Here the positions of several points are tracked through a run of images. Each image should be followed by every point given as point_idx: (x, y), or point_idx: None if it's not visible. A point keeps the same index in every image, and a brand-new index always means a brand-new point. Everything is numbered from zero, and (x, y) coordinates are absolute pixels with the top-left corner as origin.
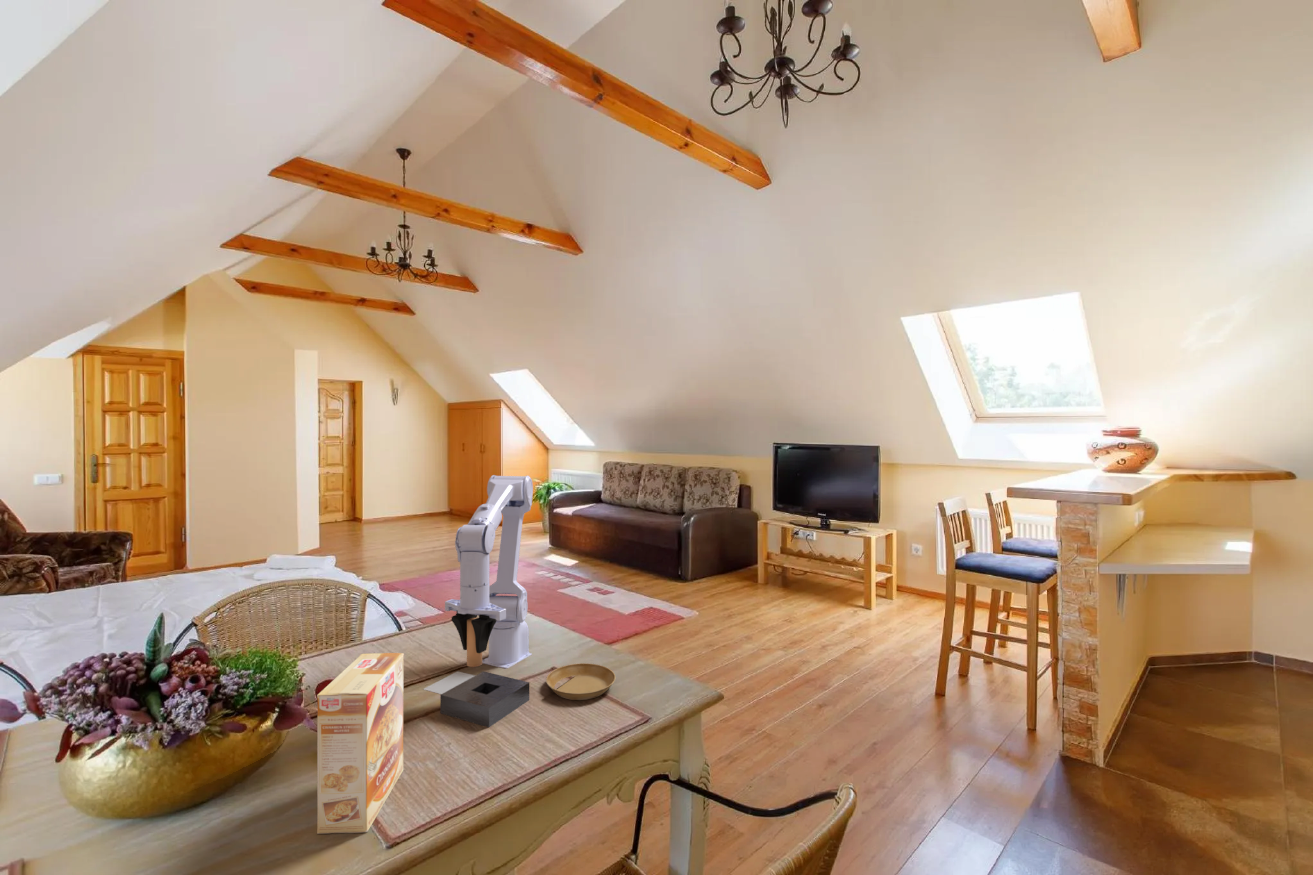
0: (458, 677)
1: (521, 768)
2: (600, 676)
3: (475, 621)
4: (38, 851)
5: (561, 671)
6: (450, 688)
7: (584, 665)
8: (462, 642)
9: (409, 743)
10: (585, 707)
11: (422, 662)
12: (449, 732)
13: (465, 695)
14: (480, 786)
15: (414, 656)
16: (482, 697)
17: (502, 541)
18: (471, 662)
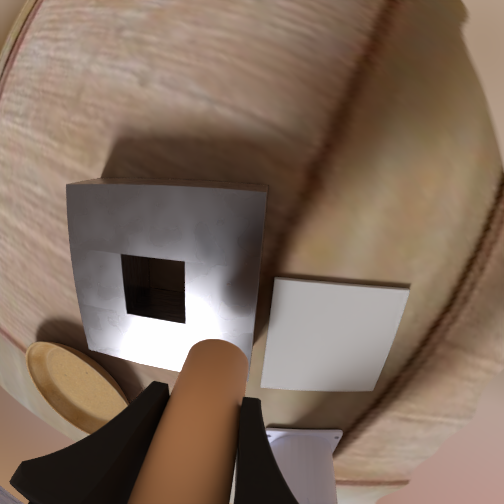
0: (353, 371)
1: (5, 109)
2: (85, 415)
3: (33, 497)
4: None
5: None
6: (340, 320)
7: None
8: (253, 424)
9: (238, 38)
10: (33, 324)
11: (461, 384)
12: (176, 119)
13: (175, 221)
14: (33, 40)
15: (480, 390)
16: (118, 231)
17: None
18: (203, 350)
